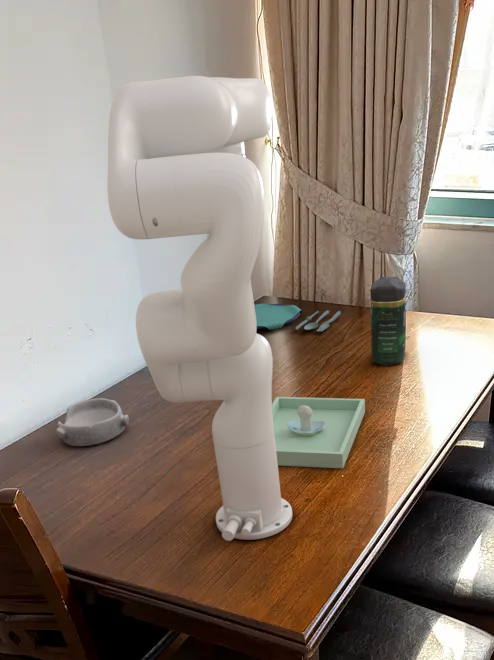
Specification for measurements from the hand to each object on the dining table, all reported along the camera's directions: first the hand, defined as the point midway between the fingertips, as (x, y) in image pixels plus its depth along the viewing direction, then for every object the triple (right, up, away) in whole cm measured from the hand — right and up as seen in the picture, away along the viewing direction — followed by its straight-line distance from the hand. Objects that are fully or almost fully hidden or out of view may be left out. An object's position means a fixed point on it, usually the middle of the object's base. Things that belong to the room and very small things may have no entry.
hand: (236, 274), depth 135 cm
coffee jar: (+33, -6, +47) cm, 57 cm away
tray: (+13, -27, +16) cm, 34 cm away
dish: (-31, -25, +26) cm, 48 cm away
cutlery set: (+7, +10, +75) cm, 76 cm away
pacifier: (+13, -26, +16) cm, 33 cm away
